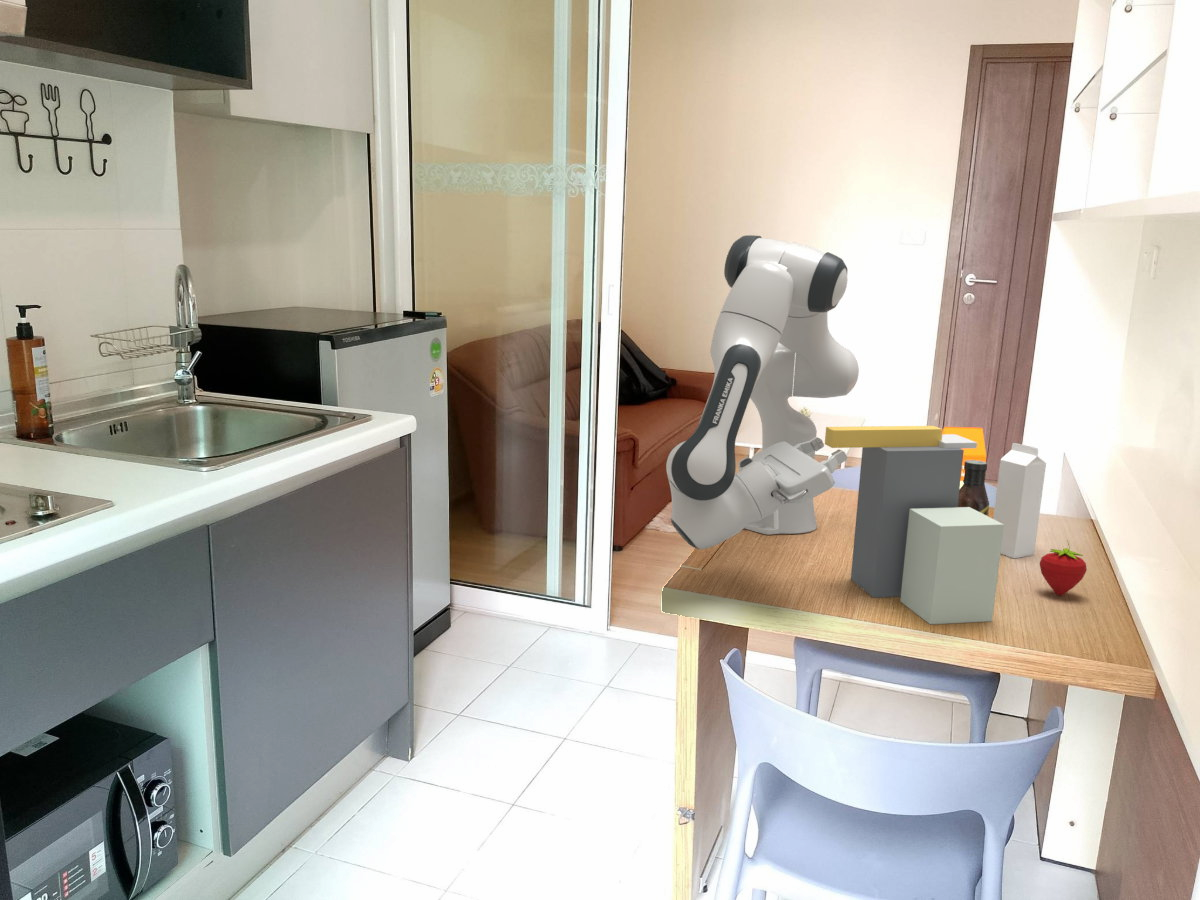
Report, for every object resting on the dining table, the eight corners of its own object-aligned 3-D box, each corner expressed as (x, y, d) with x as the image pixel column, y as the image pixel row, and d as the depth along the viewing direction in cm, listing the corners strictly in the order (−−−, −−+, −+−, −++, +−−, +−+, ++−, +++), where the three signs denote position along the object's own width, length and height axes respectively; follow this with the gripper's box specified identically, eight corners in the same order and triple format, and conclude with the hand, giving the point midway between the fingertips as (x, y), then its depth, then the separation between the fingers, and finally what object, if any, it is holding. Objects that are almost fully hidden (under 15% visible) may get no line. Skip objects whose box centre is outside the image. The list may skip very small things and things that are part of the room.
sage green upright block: (930, 624, 154) (941, 526, 150) (900, 601, 164) (909, 508, 160) (991, 621, 156) (1004, 524, 152) (958, 598, 166) (969, 507, 162)
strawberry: (1033, 586, 172) (1040, 533, 170) (1079, 592, 170) (1087, 538, 168) (1038, 598, 167) (1045, 543, 165) (1085, 603, 165) (1093, 548, 163)
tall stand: (873, 597, 165) (887, 451, 159) (850, 579, 173) (863, 439, 168) (947, 594, 167) (963, 449, 162) (921, 576, 176) (936, 438, 170)
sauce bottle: (985, 568, 181) (997, 467, 177) (950, 565, 182) (962, 464, 178) (979, 557, 187) (991, 459, 183) (945, 554, 189) (956, 457, 184)
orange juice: (979, 518, 214) (989, 431, 210) (940, 517, 215) (949, 430, 210) (966, 508, 222) (976, 424, 218) (928, 507, 222) (937, 423, 218)
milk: (1013, 559, 187) (1027, 450, 182) (988, 549, 193) (1001, 443, 188) (1034, 554, 190) (1049, 447, 185) (1009, 545, 195) (1022, 440, 190)
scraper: (836, 450, 158) (838, 432, 158) (819, 441, 165) (821, 424, 164) (976, 448, 163) (978, 431, 162) (954, 439, 170) (956, 423, 169)
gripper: (776, 489, 151) (851, 445, 151) (736, 458, 170) (802, 419, 171) (793, 521, 152) (867, 478, 153) (751, 487, 172) (816, 449, 173)
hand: (832, 447), depth 162 cm, fingers open, 8 cm apart
